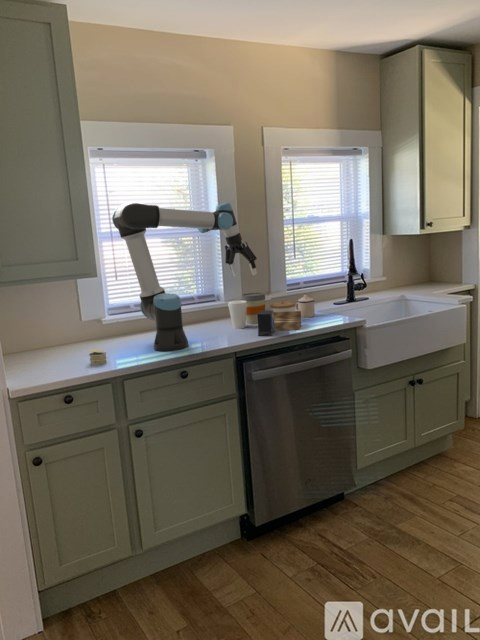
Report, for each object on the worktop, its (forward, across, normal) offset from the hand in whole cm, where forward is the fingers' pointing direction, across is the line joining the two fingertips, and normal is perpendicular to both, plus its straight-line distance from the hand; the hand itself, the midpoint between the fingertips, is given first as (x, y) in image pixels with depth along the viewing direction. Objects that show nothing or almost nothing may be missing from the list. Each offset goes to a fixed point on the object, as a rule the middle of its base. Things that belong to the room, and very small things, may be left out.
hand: (245, 275), depth 270 cm
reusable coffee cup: (+28, +8, -3) cm, 29 cm away
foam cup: (+24, +6, +10) cm, 27 cm away
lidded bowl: (+31, -4, -12) cm, 34 cm away
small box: (+25, -18, +15) cm, 34 cm away
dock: (+28, -16, +1) cm, 33 cm away
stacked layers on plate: (+4, +5, +88) cm, 88 cm away
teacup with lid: (+36, -4, -28) cm, 45 cm away
